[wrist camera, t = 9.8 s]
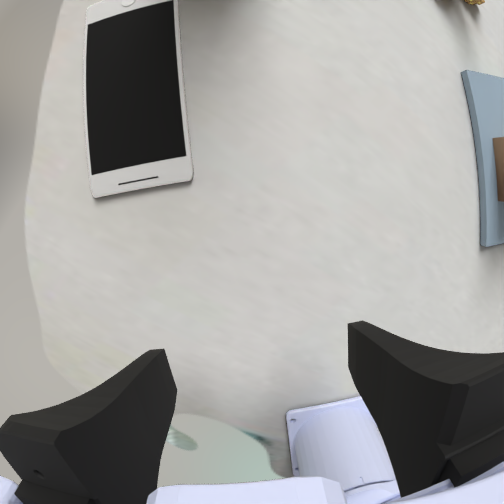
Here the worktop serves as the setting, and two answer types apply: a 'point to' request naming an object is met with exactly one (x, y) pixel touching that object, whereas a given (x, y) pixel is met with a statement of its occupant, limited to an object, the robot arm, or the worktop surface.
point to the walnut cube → (499, 165)
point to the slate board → (487, 148)
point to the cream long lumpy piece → (475, 2)
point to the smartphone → (134, 97)
